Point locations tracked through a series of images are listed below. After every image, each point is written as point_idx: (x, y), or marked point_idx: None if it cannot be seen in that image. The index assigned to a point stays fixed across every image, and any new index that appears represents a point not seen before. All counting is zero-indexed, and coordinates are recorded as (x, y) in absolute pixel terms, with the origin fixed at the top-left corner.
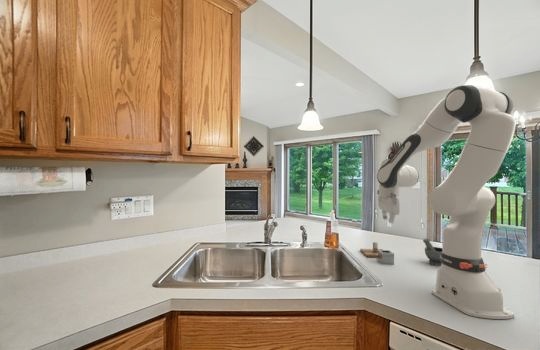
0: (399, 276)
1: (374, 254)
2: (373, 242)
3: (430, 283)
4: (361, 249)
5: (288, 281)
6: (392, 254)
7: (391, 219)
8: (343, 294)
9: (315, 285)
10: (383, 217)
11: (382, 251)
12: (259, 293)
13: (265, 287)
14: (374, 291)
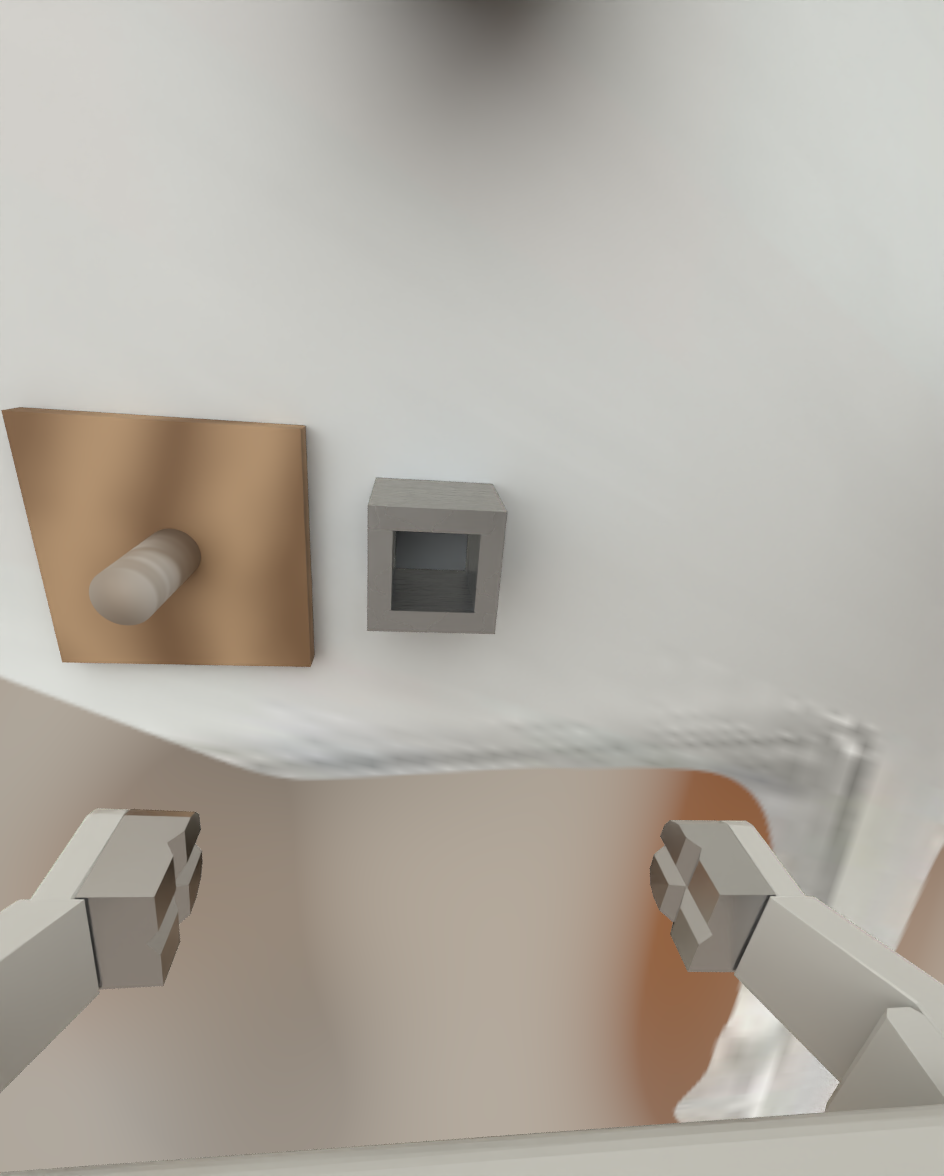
0: (762, 569)
1: (269, 590)
2: (113, 615)
3: (930, 402)
4: (94, 659)
5: (720, 1057)
6: (504, 527)
7: (781, 939)
8: (896, 904)
9: None
10: (175, 928)
11: (391, 587)
12: (803, 1112)
13: (760, 1105)
14: (913, 785)
